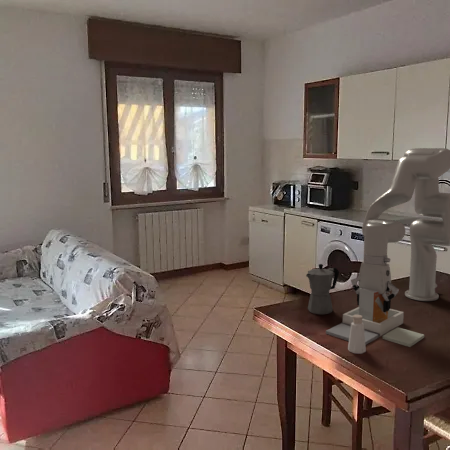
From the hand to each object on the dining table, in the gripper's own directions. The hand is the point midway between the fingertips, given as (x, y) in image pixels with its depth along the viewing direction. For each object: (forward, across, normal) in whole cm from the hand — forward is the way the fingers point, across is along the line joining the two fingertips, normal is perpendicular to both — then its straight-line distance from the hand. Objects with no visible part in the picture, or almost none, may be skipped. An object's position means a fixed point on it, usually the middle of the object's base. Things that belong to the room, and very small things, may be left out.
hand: (373, 307), depth 163 cm
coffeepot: (+6, +21, 0) cm, 22 cm away
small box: (+6, 0, 0) cm, 6 cm away
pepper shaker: (+6, -7, +22) cm, 24 cm away
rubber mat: (+6, -13, +4) cm, 15 cm away
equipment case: (+6, 0, +5) cm, 8 cm away
